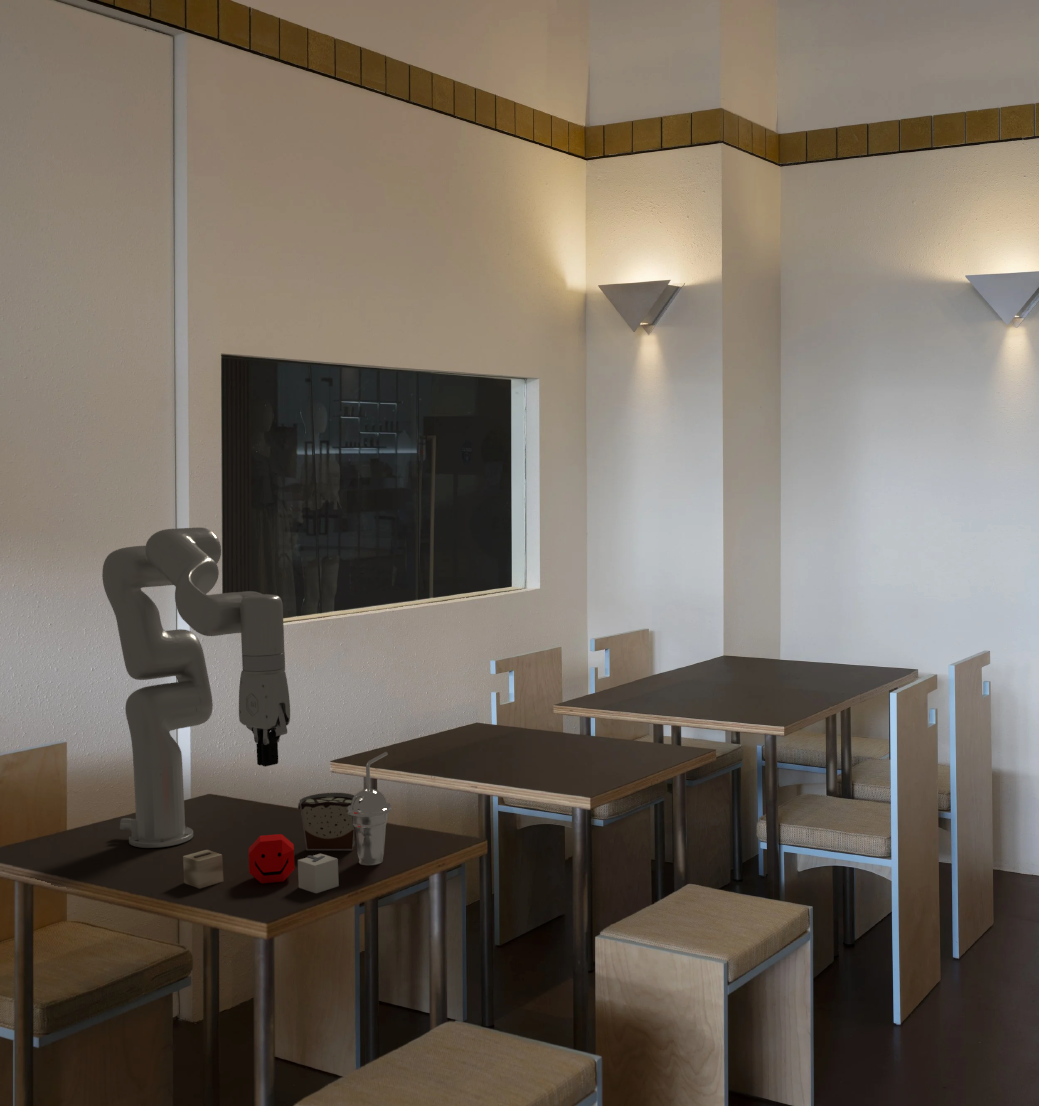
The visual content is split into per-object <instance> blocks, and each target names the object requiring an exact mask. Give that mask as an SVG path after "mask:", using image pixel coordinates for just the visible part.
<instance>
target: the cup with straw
mask: <svg viewBox="0 0 1039 1106" xmlns="http://www.w3.org/2000/svg"><path fill="white" fill-rule="evenodd" d="M388 755H389V754H388V752H387V751H385V752H383V753H381V754H379V755H377V756H375V757H373V758H372V759H369V760H368V761H367V763H366V764H365V774H366V775H365V776H366V777H365V779H366V788H364V789H362V790H360V791H357V793H355V794H354V795H355V796H354V797H353V799H352V802H351V805H349V806H348V807H347V811H346V812H347V814H349V815H351V821H352V824H353V827H354V832H355V845H356V846H355V847H356V851H357V857H358V860H359V861H358V863H359V864H360V865H362V866H377V865H380V864H381V863H384V859H383V858H384V856H385V855H384V854H385V843H386V842H385V841H386V829H387V828H386V826H387V823H388V819H389V818H388V817H389V813H391V812H392V810H393V808H392V805H391V804H390V803H389V802H388V801H387V798H386V797H385V795H384V794H383V792H381V791H380V790H378V789H374V788H371V773H370V772H371V770H370V769H371V767H370V766H371V765H372V764H374V763H375V762H377V761H379V760H380V759H382V758H385V757H386V756H388Z"/></svg>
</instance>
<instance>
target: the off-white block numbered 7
mask: <svg viewBox="0 0 1039 1106" xmlns="http://www.w3.org/2000/svg"><path fill="white" fill-rule="evenodd" d="M297 875H298V876H297V877H298V888H299V889H302V890H305V891H308V892H311V893H314V894H319V893H321V892H322V893H323V892H325V891H327V890H331V889H334V888H337V887H339V886H340V885H339V883H340V881H339V859H338V858H337V857H333V856H330V855H327V854H324V853H318V854H315V855H314V854H313V855H306V857H305V858H304V857H303V858H300V859H297Z"/></svg>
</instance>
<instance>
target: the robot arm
mask: <svg viewBox="0 0 1039 1106" xmlns="http://www.w3.org/2000/svg"><path fill="white" fill-rule="evenodd" d="M221 555H222V545H221V542H220V540H219V538H218V537H217V535H216V534H215V533H214V532H213V531H211V530H210V529H208V528H206V527H183V528H179V527H178V528H168V529H167V528H166V529H162V530H159V531H156V532H155V533H153V534H152V535H151V536H150V537H149V538H148V539H147V541H146V544H145V545H136V546H135V545H134V546H127V547H122V548H118V549H116V550H113V551H111V552H110V553H109V554H108V555H107V556H106V558H105V559H104V562H103V565H102V574H101V575H102V576H101V577H102V578H101V579H102V585H103V588H104V592H105V595H106V597H107V600H108V602H109V604H110V606H111V608H112V611H113V613H114V616H115V620H116V624H117V630H118V634H119V635H118V636H119V640H120V641H119V642H120V647H121V652H122V656H123V662H124V666H125V670H126V672H127V674H128V675H129V677H130V678H132V679H134V680H137V681H138V680H139V681H145V680H155V679H162V678H171V677H175V678H176V680H177V681H176V682H171V683H170V682H169V683H168V682H167V683H162V684H160V683H159V684H154V685H153V684H152V685H149V686H143V687H141V688H138V689H136V690H133V692H132V693H130V695H129V696H128V698H127V699H126V702H125V717H126V720H127V724H128V725H127V726H128V729H129V734H130V740H131V749H132V762H133V763H132V764H133V765H132V766H133V781H134V783H133V784H134V786H133V787H134V802H135V803H134V804H135V805H134V807H135V818H131V817H126V818H125V817H123V818H121V819H120V822H119V823H120V824H119V829H120V830H121V831H128V830H129V831H131V834H130V835H129V837H128V843H129V845H131V846H132V847H136V848H140V849H141V848H142V849H155V848H158V849H159V848H165V847H166V848H168V847H171V846H172V847H173V846H177V845H181V844H184V843H186V842H189V841H190V840H191V839H192V838H193V837H194V830H193V829H192V828H191V827H188V826H186V821H185V820H186V817H185V816H186V815H185V795H184V774H183V771H184V770H183V755H182V750H181V748H180V745H179V744H178V743H177V741H176V740H175V739H174V737H173V736H172V735H171V733H170V732H171V731H175V730H179V729H184V728H191V727H195V726H199V725H202V724H205V723H206V722H208V721H209V719H210V718H211V716H212V714H213V707H214V705H213V704H214V703H213V696H212V690H211V685H210V680H209V674H208V669H207V663H206V658H205V654H204V649H203V646H202V643H201V642H200V639H199V638H198V637H197V635H196V634H195V633H194V632H192V631H190V630H188V629H184V628H183V629H181V628H180V629H179V628H178V629H172V630H171V629H170V630H165V629H164V628H163V625H162V620H161V615H160V611H159V608H158V606H157V605H156V603H155V602H154V601H153V600H152V598H150V596H149V595H147V593H146V592H144V591H143V590H142V588H155V587H166V586H167V587H168V586H174V587H175V591H174V599H175V600H174V601H175V605H176V609H177V613H178V614H179V617H180V618H181V620H183V621H184V622H185V623H186V624H187V625H188V626H189V627H190V628H191V629H193V630H194V631H195V632H196V633H197V634H200V635H202V636H205V637H216V636H225V635H233V634H234V635H235V634H240V638H241V659H242V660H241V664H242V665H241V667H242V670H241V673H240V678H239V679H240V680H239V688H238V719H239V722H240V723H241V725H243V726H246V727H245V728H246V729H248V730H249V731H251V732H252V734H253V739H254V740H253V741H254V743H255V746H256V764H257V765H258V766H262V767H265V768H266V767H270V766H275V765H277V764H279V745H278V744H279V743H280V740H281V739H280V737H281V736H283V735H287V734H288V728H287V726H288V725H289V724H290V722H291V704H290V703H291V701H290V693H289V692H290V690H289V686H288V685H289V684H288V678H287V675H286V654H285V633H284V631H285V629H284V627H285V626H284V625H285V624H284V604H283V601H282V598H281V597H280V596H279V595H276V594H267V593H265V594H263V593H261V592H258V591H252V590H248V591H247V590H246V591H237V592H235V591H233V592H222V593H214V594H213V593H212V594H208V593H210V592H211V590H212V589H214V587H215V586H216V584H217V582H218V579H219V575H220V570H219V566H218V563H219V561H220V559H221Z"/></svg>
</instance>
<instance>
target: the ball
mask: <svg viewBox="0 0 1039 1106" xmlns="http://www.w3.org/2000/svg"><path fill="white" fill-rule="evenodd" d="M295 865H296V864H295V845H294V843H293V842H291V841H290V839H288V838H287V837H286V836H285V835H283V834H281V833H280V834H279V833H277V834H267V835H264V834H263V835H259V836H258V838H257V839H256V840H255V841H254V842H253V843H252V844H251V845H249V847H248V870H249V872H248V873H249V874H250V875H251V876H252V877H253V878H255V880H257V881H258V882H259V883H260V884H271V883H283V882H285V881H286V879H287V878H288V877H290V875H291V874H292V873H293V872H294V871H295V869H296V868H295Z"/></svg>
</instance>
